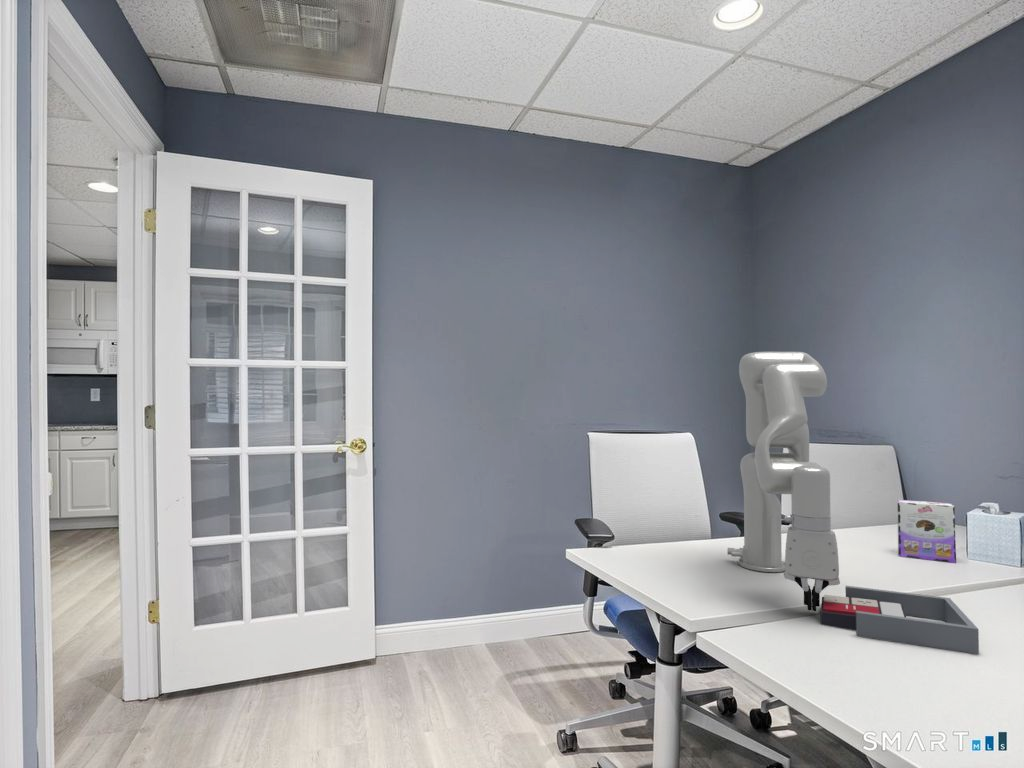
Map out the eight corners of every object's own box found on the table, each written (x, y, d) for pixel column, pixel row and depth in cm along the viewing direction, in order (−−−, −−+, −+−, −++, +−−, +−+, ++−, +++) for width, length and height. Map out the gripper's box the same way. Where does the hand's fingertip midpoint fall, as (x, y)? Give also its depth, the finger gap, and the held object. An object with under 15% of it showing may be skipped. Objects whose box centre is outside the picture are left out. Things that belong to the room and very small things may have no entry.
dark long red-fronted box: (821, 592, 128) (902, 601, 120) (822, 612, 128) (904, 622, 120) (820, 607, 118) (908, 618, 111) (821, 629, 118) (909, 640, 111)
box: (856, 635, 112) (856, 612, 113) (845, 605, 129) (845, 585, 129) (978, 654, 104) (978, 629, 105) (950, 619, 121) (949, 598, 121)
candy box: (954, 559, 169) (953, 502, 169) (956, 563, 164) (955, 505, 164) (897, 552, 176) (896, 498, 177) (898, 556, 171) (897, 501, 172)
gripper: (772, 523, 124) (773, 609, 123) (852, 530, 118) (853, 620, 117) (773, 517, 131) (773, 598, 130) (848, 523, 125) (849, 608, 124)
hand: (811, 608), depth 124 cm, fingers closed
